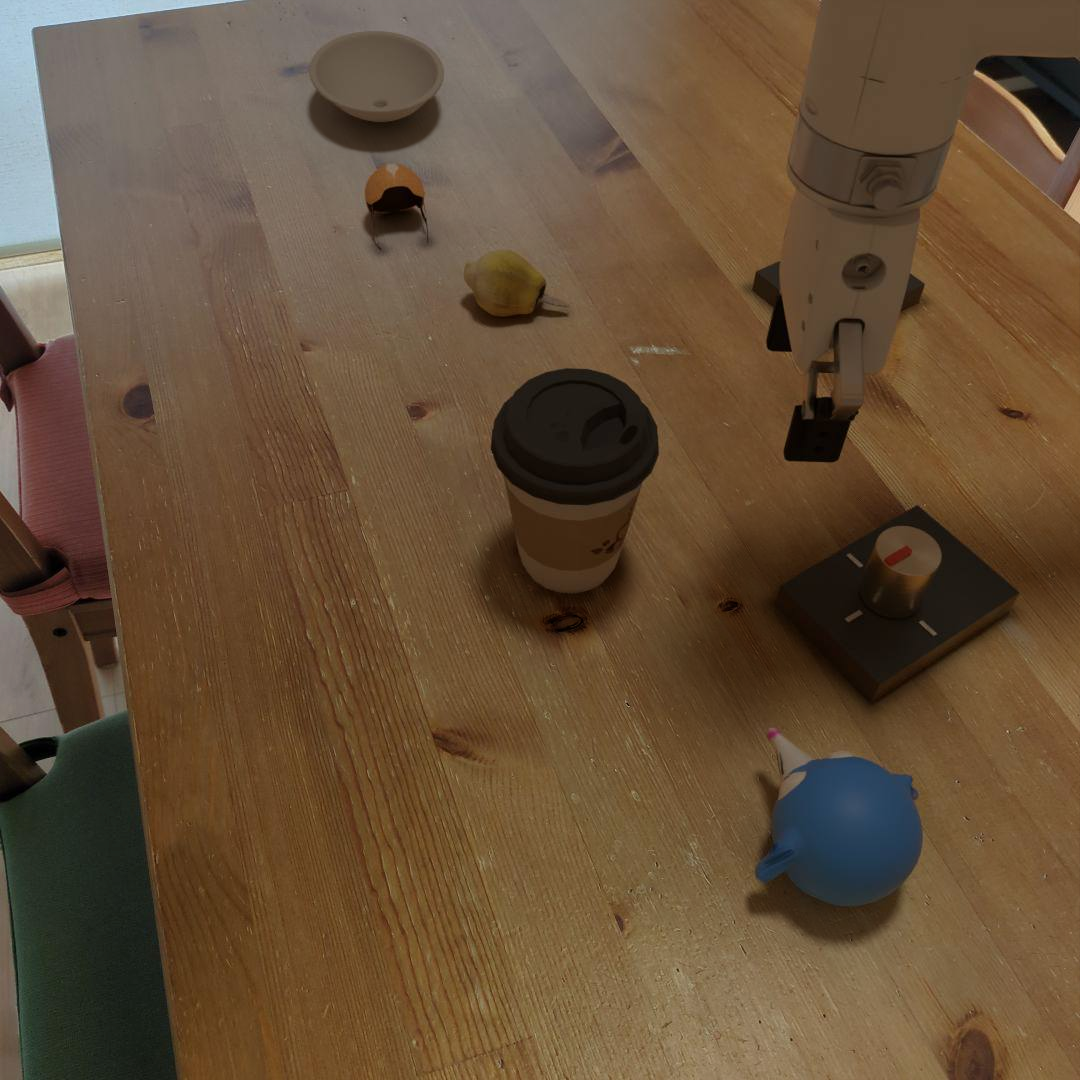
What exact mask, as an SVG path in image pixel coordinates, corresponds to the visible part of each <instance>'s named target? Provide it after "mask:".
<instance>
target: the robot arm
mask: <svg viewBox="0 0 1080 1080" xmlns="http://www.w3.org/2000/svg"><path fill="white" fill-rule="evenodd" d="M808 56H809V57H808V61H807V62H808V63H807V67H806V71H805V76H804V80H803V85H802V90H801V95H800V100H799V103H798V108H797V111H796V112H797V113H796V117H795V122H794V126H793V131H792V137H791V141H790V146H789V151H788V154H787V159H786V167H785V168H786V173H787V177H788V179H789V181H790V182H791V184H792V185H793V187H795V190H794V193H793V197H792V201H791V205H790V209H789V212H788V218H787V222H786V226H785V231H784V236H783V240H782V241H783V242H782V245H781V253H780V259H779V261H780V268H779V274H780V283H779V291H780V294H782V296H776V299H775V303H774V307H773V308H772V312H771V317H770V322H769V327H768V331H767V335H766V340H765V344H766V349H767V350H769V351H770V352H776V353H777V352H780V353H791V354H792V359H793V361H794V364H795V365H796V366H797V367H798V368H799V369H800V370H801V371H802V372H803V381H802V383H803V384H802V395H801V397H802V398H801V404H799V405H798V404H795V405H794V408H793V413H792V417H791V420H790V423H789V428H788V431H787V435H786V438H785V442H784V447H783V449H782V452H783V457H784V460H785V461H787V462H796V463H797V462H798V463H799V462H800V463H801V462H802V463H835V462H837V461H839V459H840V457H841V454H842V451H843V447H844V444H845V441H846V439H847V436H848V432H849V430H850V426H851V423H852V422H853V421H854V420H855V419H856V417H857V415H859V413H860V412H859V410H860V409H861V407H862V406H863V404H864V401H865V377H864V376H870V375H871V376H878V375H879V374H880V373H881V372H882V371H883V370H884V368H885V366H886V363H887V360H888V357H889V354H890V350H891V346H892V343H893V340H894V336H895V332H896V329H897V325H898V321H899V319H900V314H901V312H902V311H901V307H902V303H903V300H904V296H905V292H906V288H907V284H908V280H909V275H910V274H911V271H912V266H913V262H914V256H915V251H916V246H917V240H918V233H919V226H920V219H921V211H920V209H921V208H922V207H923V206H925V205H926V204H927V203H929V202H930V200H932V198H933V196H934V195H935V192H936V190H937V187H938V183H939V181H940V178H941V175H942V172H943V170H944V166H945V162H946V160H947V157H948V154H949V151H950V148H951V144H952V142H953V139H954V135H955V132H956V129H957V125H958V123H959V119H960V117H961V112H962V111H963V107H964V104H965V101H966V98H967V95H968V92H969V88H970V86H971V83H972V80H973V78H974V74H975V72H976V68H977V65H978V64H979V63H980V61H981V60H983V59H985V58H986V57H990V56H1004V57H1005V56H1007V57H1008V56H1009V57H1010V56H1011V57H1013V56H1014V57H1034V58H1037V57H1038V58H1057V59H1058V58H1061V59H1062V58H1079V57H1080V0H820V3H819V8H818V13H817V18H816V22H815V27H814V32H813V37H812V42H811V48H810V52H809V55H808ZM829 349H830V350H831V349H832V350H833V361H821V360H820V359H821V358H822V356H824V354H825V353H826V352H827V351H828V350H829ZM819 360H820V361H819ZM819 374H833V386H832V390H831V392H830V396H819V397H817V396H818V383H819Z"/></svg>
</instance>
